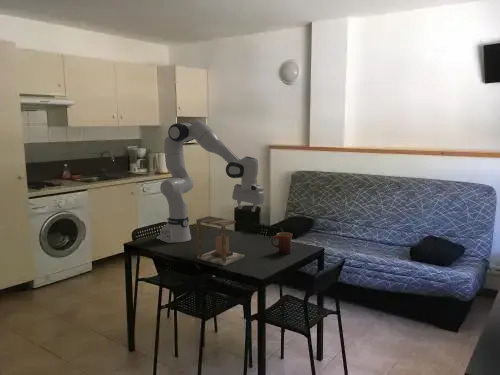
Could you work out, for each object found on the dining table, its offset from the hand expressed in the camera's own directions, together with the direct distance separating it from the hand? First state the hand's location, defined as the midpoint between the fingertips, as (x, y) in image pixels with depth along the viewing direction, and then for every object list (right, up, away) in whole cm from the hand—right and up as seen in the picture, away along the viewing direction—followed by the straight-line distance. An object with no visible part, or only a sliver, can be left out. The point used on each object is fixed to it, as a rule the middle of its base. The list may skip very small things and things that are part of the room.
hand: (246, 210), depth 241 cm
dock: (-13, -25, -15) cm, 32 cm away
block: (-13, -23, -14) cm, 30 cm away
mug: (+19, -23, -7) cm, 31 cm away
